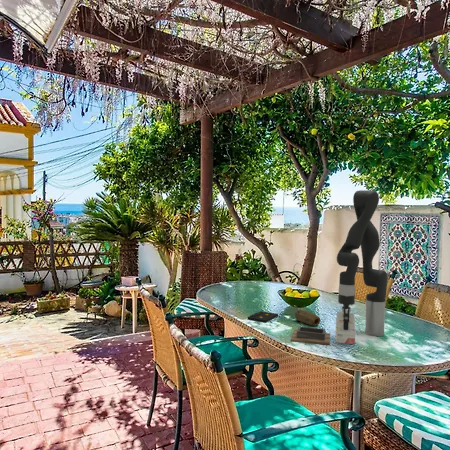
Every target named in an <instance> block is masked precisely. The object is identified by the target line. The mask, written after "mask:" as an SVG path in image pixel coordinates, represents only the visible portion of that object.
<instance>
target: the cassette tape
mask: <svg viewBox="0 0 450 450" xmlns="http://www.w3.org/2000/svg"><path fill="white" fill-rule="evenodd" d="M277 317H279V313H275V312H270V311H269V312H268V311H262V310H261V311H257V312H255V313H253V314H250V315H249V316H248V317H247V320H249V321H253V322H259V323H268V322H271V321H272V320H274V319H276V318H277Z"/></svg>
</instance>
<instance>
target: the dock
mask: <svg viewBox="0 0 450 450" xmlns="http://www.w3.org/2000/svg"><path fill="white" fill-rule="evenodd" d="M290 342H297V343H305V344H312V345H314V344H315V345H322V346H330V345H331V333H328V332H326V329H325V328H318V327H310V326H309V327H308V326H298V328H297V329H294V330H293V332H292V336H291V337H290Z"/></svg>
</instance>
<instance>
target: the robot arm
mask: <svg viewBox="0 0 450 450" xmlns="http://www.w3.org/2000/svg"><path fill="white" fill-rule="evenodd" d="M379 201H380V195H379V193H378V192H377V191H376V190H369V189H366V190H363V189H362V190H361V189H360V190H357V191H355V192H354V194H353V199H352V203H353V208H354V212H355V216H356V221H355V222H354V223H353V224H352V226H351V227H350V228H349V231H348V232H347V236H346V239H345V242H344V243H343V245H342V246H341V248H340V249H339V251H338V253H337V254H336V263H337V264H338V265H339V266H341V267H345V268H346V270H345V271H344V270H343V271H341V272H340V273H339V281H338V282H339V284H338V285H339V286H338V295H337V296H338V300H337V301H338V304H340V305H343V306H341V312H342V317H343V322H344V324H343V329H344V330H348V323H349V318H350V313H352V312H351V307H350V306H352V305H355V303H356V286H355V285H356V283H355V281H356V275H357V271H358V268H359V265H360V257H359V255H358V254H357V253H356V252H353V251H355V250H358V249H360V248H361V250H360V251H361V258H362V276H363V278H362V279H363V283H364V285H365V286H367V287H369V288H370V287H371V288H376V290H375V291H374V292H370V293H367V294H366V297H365V326H364V332H365V334H367V335H369V336H376V337H381V336H384V335H385V324H386V323H385V320H386V317H385V315H386V314H385V313H386V299H387V298H386V297H387V288H388V273H387V272H386V270H383V269H375V268H374V267H373V259H374V258H375V255H376V254H377V252H378V251H379V248H380V246H381V245H380V244H381V242H380V235H379V232H378V229H377V227H376V226H375V225H374V224H373V222H372V221H371V219H372V218H373V216H374V213H375V211H376V210H377V209H378V206H379ZM345 318H348V319H345Z"/></svg>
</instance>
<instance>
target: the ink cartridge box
mask: <svg viewBox="0 0 450 450" xmlns="http://www.w3.org/2000/svg"><path fill="white" fill-rule="evenodd" d="M345 319H348V318H345ZM335 322H336V323H335V343H338V344H339V343H340V344H349V345H355V337H356V318H355V313H354V312H350V318H349V323H348V330H344V329H343V324H344V322H343V317H342V311H336V318H335Z"/></svg>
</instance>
